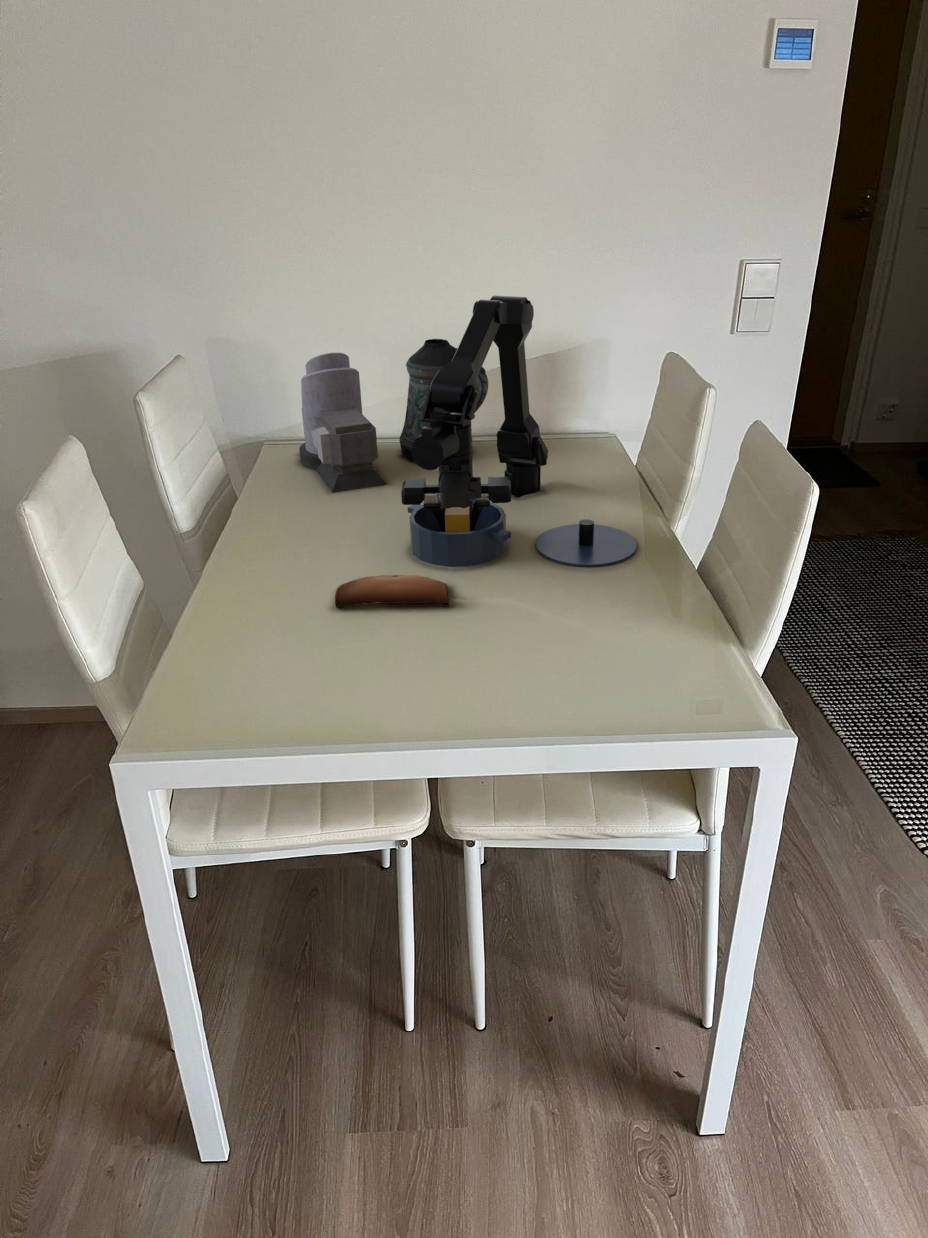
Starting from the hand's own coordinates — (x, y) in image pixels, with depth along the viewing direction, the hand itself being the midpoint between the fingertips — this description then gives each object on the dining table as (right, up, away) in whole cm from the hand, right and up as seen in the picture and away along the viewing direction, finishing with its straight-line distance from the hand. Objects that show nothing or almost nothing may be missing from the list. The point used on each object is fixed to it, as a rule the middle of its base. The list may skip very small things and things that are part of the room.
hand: (458, 536), depth 170 cm
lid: (+23, -2, 0) cm, 23 cm away
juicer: (-26, +19, +42) cm, 53 cm away
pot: (0, -2, +1) cm, 2 cm away
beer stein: (-4, +23, +49) cm, 54 cm away
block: (0, -2, +1) cm, 2 cm away
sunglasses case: (-10, -11, -15) cm, 21 cm away
